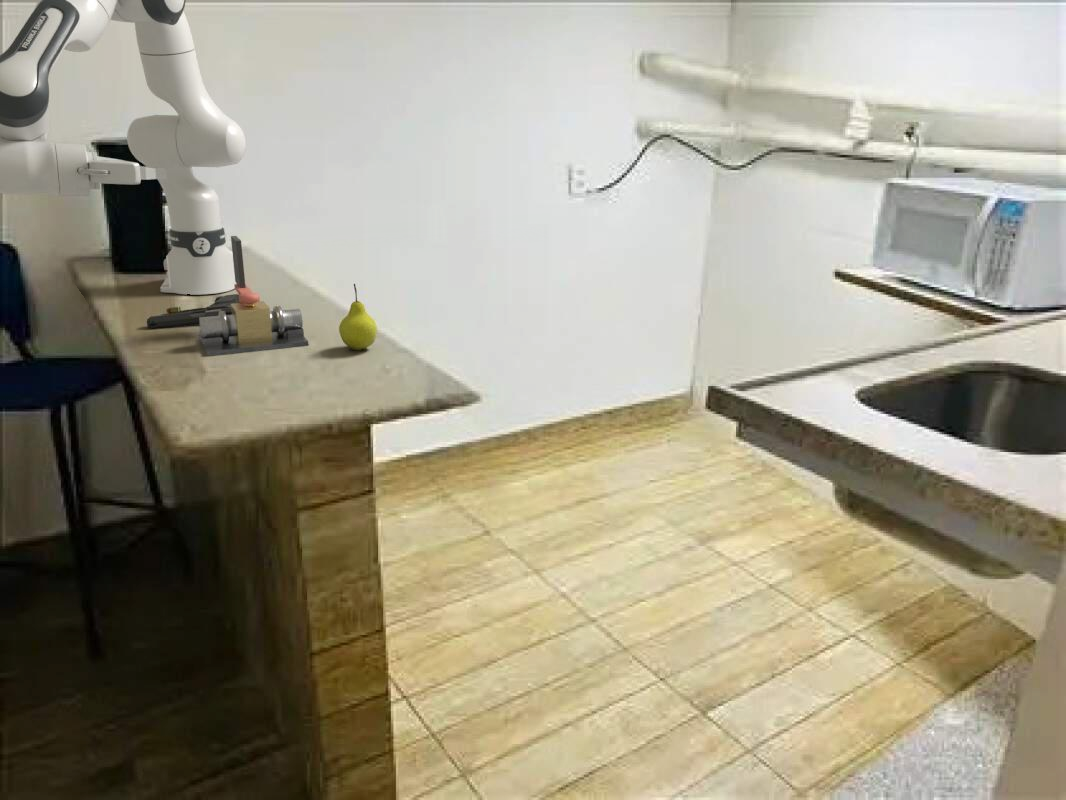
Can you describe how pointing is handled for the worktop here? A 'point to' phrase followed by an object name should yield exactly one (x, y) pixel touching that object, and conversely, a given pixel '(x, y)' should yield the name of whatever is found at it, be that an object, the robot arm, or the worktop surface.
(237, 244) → the lever
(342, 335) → the fruit
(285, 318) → the valve
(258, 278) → the worktop surface
